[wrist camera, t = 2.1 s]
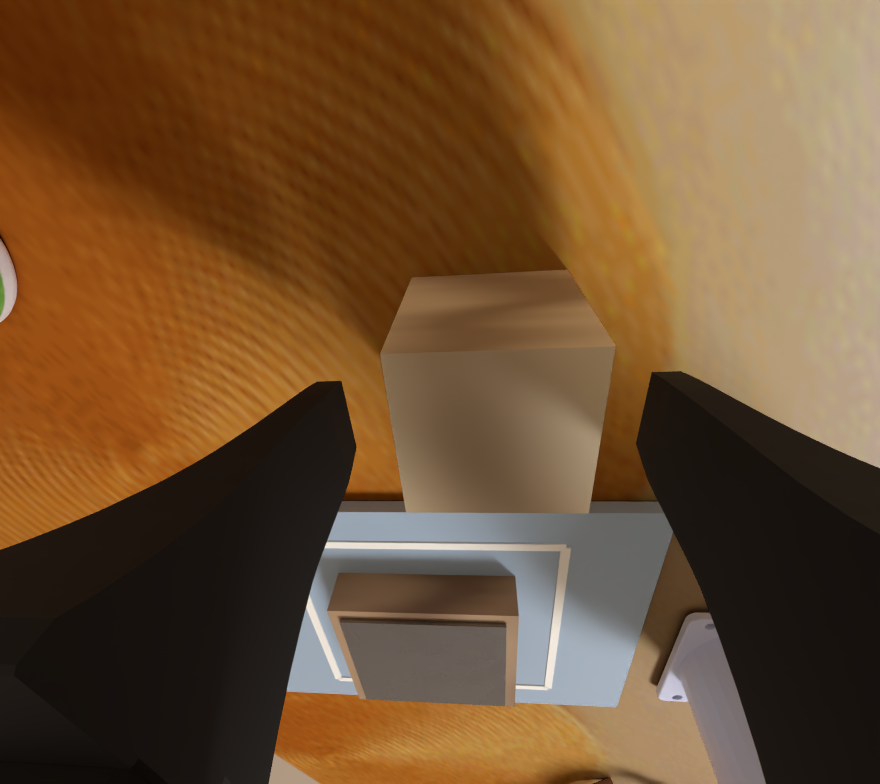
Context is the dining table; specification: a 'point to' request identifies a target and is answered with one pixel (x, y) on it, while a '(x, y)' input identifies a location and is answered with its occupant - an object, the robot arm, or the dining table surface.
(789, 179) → the dining table surface
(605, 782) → the pottery mug
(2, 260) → the supplement bottle
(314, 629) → the board
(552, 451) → the oak block
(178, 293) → the dining table surface
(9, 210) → the dining table surface
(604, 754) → the dining table surface
